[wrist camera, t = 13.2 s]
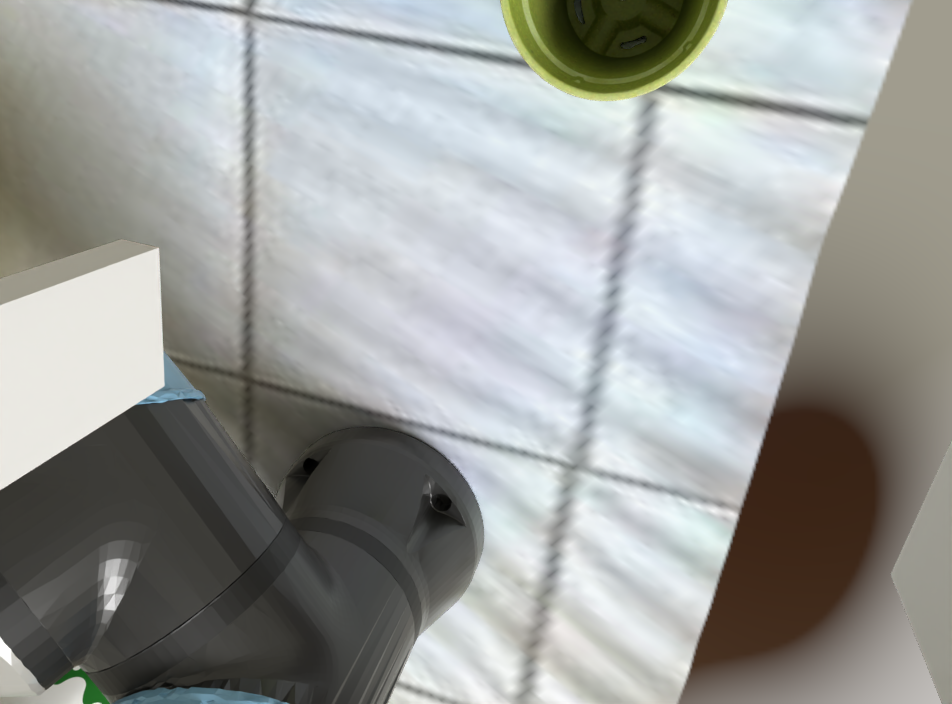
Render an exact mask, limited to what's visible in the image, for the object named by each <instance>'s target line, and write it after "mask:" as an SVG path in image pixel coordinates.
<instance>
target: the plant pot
mask: <svg viewBox="0 0 952 704" xmlns="http://www.w3.org/2000/svg"><path fill="white" fill-rule="evenodd" d="M574 1H575V0H500V3H501V9H502V13H503V17H504V21H505V24H506V27H507V30H508V32H509V35H510V37H511V39H512V41H513V43H514V45H515V47H516V48H517V50H518V52H519V53H520V55H521V56H522V57H523V59H524V60H525V61H526V63H527V64H528V65H529V66H530V67H531V69H532V70H533V71H534V72H536V73H537V74H538V75H539V76H540V77H541V78H542V79H544V80H545V81H546V82H548V83H549V84H551V85H552V86H554V87H556V88H557V89H559V90H561V91H563V92H565V93H567V94H570V95H573V96H576V97H580V98H583V99H588V100H595V101H616V100H624V99H629V98H633V97H637V96H640V95H643V94H646V93H648V92H651V91H653V90H655V89H657V88H659V87H661V86H663V85H665V84H666V83H668V82H670V81H671V80H672V79H674V78H675V77H677V76H678V75H679V74H681V73H682V72H683V71H684V70H685V69H687V68H688V67H689V66H690V65H691V64H692V63H693V61H694V60H695V59H696V58H697V57H698V56H699V55H700V53H701V52H702V51H703V50H704V48H705V47H706V46H707V44H708V43H709V41H710V40H711V38H712V36H713V35H714V33H715V32H716V30H717V28H718V26H719V24H720V21H721V19H722V17H723V14H724V12H725V9H726V6H727V2H728V0H581V6H582V12H583V16H584V18H583V19H584V20H585V23H584V24H583V23H581V22H580V21H579V19H578V17H577V15H576V12H575V7H574ZM642 36H645V37H647V39H646V41H645V43H642V44H639V45H636V46H634V47H633V48H631V49H622V48H621V46H620V45H621V43H622V42H628V41H633V40H636V39H638V38H641V37H642Z"/></svg>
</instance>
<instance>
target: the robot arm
mask: <svg viewBox="0 0 952 704" xmlns="http://www.w3.org/2000/svg"><path fill="white" fill-rule="evenodd" d="M205 400H206V397H205V396H204V394H203V393H202V392H201V391H200V390H196V389H195V388H194V387H193V386H192V384H191V383H190V382H189V381H188V380H187V378H186V377H185V376H184V375H183V374H182V372H181V371H180V370H179V369H178V367H177V366H176V365H175V364H174V363H173V361H172V360H171V359H170V358H169V356H168V355H167V354H166V353H165V351H164V350H163V333H162V308H161V282H160V257H159V247H155V246H150V245H146V244H141V243H137V242H132V241H128V240H123V239H120V240H117V241H114V242H111V243H108V244H105V245H102V246H99V247H95V248H92V249H89V250H86V251H83V252H80V253H77V254H74V255H71V256H68V257H65V258H62V259H58V260H55V261H52V262H49V263H46V264H43V265H40V266H37V267H34V268H31V269H28V270H25V271H22V272H18V273H15V274H12V275H9V276H6V277H3V278H0V697H25V696H40V695H41V694H42V693H43V692H45V691H46V690H47V689H48V688H50V687H51V686H52V685H53V684H55V683H56V682H57V681H58V680H59V679H61V678H62V677H63V676H64V675H65V674H67V673H68V672H69V671H70V670H72V669H73V668H74V667H76V666H78V665H79V666H80V668H81V669H82V670H83V671H84V672H85V673H86V674H87V675H88V676H89V678H90V679H91V680H92V681H93V683H94V684H95V685H96V686H97V687H98V689H99V690H100V691H101V692H102V694H103V695H104V696H105V697H106V699H107V700H108V701H109V703H110V704H388V702H389V699H390V697H391V695H392V693H393V690H394V688H395V686H396V684H397V681H398V679H399V677H400V675H401V673H402V670H403V668H404V666H405V664H406V662H407V659H408V657H409V655H410V652H411V650H412V648H413V646H414V644H415V641H416V639H417V637H418V636H419V635H420V634H422V633H423V632H424V631H425V630H426V629H427V628H428V627H429V626H431V625H432V624H433V623H434V622H435V621H436V620H437V619H438V618H440V617H441V616H442V615H443V614H444V613H445V612H446V611H447V610H448V609H450V608H451V607H452V606H453V605H454V604H455V603H456V602H457V601H458V600H459V599H460V598H461V596H462V595H463V594H464V592H465V591H466V589H467V588H468V586H469V584H470V582H471V580H472V578H473V575H474V573H475V571H476V568H477V566H478V563H479V561H480V558H481V555H482V551H483V544H484V527H483V520H482V515H481V512H480V509H479V506H478V503H477V501H476V498H475V496H474V494H473V492H472V491H471V489H470V487H469V485H468V484H467V482H466V481H465V479H464V478H463V477H462V476H461V474H460V473H459V472H458V471H457V470H456V468H455V467H454V466H453V465H452V464H451V463H450V462H449V461H447V460H446V459H445V458H444V457H443V456H442V455H440V454H439V453H438V452H437V451H435V450H434V449H432V448H431V447H429V446H428V445H426V444H424V443H423V442H421V441H419V440H417V439H415V438H412V437H410V436H408V435H405V434H402V433H399V432H396V431H392V430H388V429H383V428H375V427H356V428H348V429H344V430H340V431H337V432H334V433H331V434H329V435H327V436H325V437H323V438H321V439H320V440H318V441H317V442H315V443H314V444H313V445H312V446H311V447H309V448H308V449H307V450H306V451H305V452H304V454H303V455H302V456H301V457H300V458H299V459H298V460H297V461H296V462H295V463H294V464H293V465H292V467H291V468H290V469H289V471H288V472H287V474H286V476H285V477H284V479H283V481H282V483H281V485H280V488H279V491H278V494H277V497H276V500H275V499H274V497H273V496H272V494H271V493H270V492H269V490H268V489H267V488H266V486H265V485H264V483H263V482H262V481H261V479H260V478H259V477H258V475H257V474H256V472H255V471H254V470H253V468H252V467H251V466H250V464H249V463H248V461H247V460H246V459H245V457H244V456H243V455H242V453H241V452H240V450H239V449H238V448H237V446H236V445H235V444H234V442H233V441H232V439H231V438H230V437H229V435H228V434H227V433H226V431H225V430H224V428H223V427H222V426H221V424H220V423H219V421H218V420H217V419H216V417H215V416H214V414H213V413H212V411H211V410H210V409H209V407H208V406H207V404H206V403H205ZM891 577H892V579H893V582H894V584H895V587H896V590H897V592H898V594H899V597H900V599H901V602H902V605H903V607H904V610H905V612H906V615H907V617H908V620H909V622H910V625H911V627H912V630H913V632H914V635H915V637H916V640H917V642H918V645H919V647H920V650H921V652H922V655H923V657H924V660H925V662H926V665H927V668H928V670H929V673H930V675H931V678H932V680H933V683H934V684H935V688H936V690H937V693H938V695H939V698H940V700H941V703H942V704H952V440H951V443H950V445H949V447H948V450H947V452H946V454H945V456H944V458H943V460H942V463H941V465H940V467H939V469H938V471H937V474H936V476H935V478H934V480H933V482H932V485H931V487H930V489H929V491H928V494H927V496H926V498H925V500H924V502H923V504H922V507H921V509H920V511H919V513H918V516H917V518H916V520H915V522H914V524H913V527H912V529H911V531H910V533H909V535H908V537H907V540H906V542H905V544H904V546H903V548H902V551H901V553H900V555H899V557H898V559H897V562H896V564H895V566H894V568H893V570H892V573H891Z"/></svg>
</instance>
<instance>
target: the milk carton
mask: <svg viewBox="0 0 952 704" xmlns="http://www.w3.org/2000/svg"><path fill="white" fill-rule="evenodd" d="M0 704H110V703H109V701H108V700H107V699H106V697H105V696H104V695H103V694H102V692H101V691H100V690H99V689H98V687H97V686H96V685H95V684H94V683H93V681H92V680H91V679H90V678H89V676H88V675H87V674H86V673H85V672H84V671H83V670H82V669H81V668H80V666H79V665H78V666H76V667H74V668H73V669H72V670H70V671H69V672H68V673H67V674H65V675H64V676H63V677H62V678H61V679H59V680H58V681H57V682H56V683H55V684H53V685H52V686H51V687H50V688H48V689H47V690H46V691H45V692H43V693H42V694H41V695H40V696H25V697H0Z"/></svg>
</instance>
